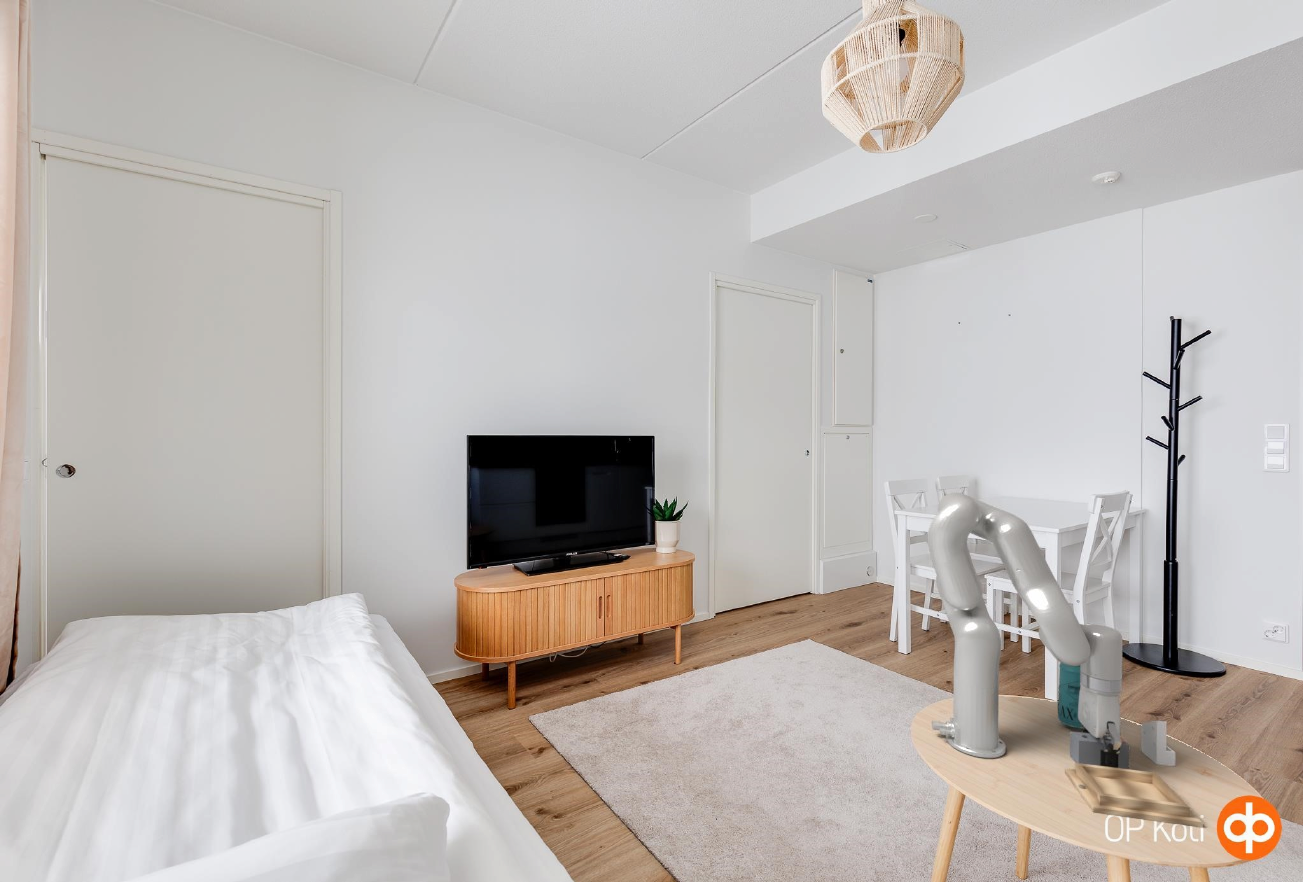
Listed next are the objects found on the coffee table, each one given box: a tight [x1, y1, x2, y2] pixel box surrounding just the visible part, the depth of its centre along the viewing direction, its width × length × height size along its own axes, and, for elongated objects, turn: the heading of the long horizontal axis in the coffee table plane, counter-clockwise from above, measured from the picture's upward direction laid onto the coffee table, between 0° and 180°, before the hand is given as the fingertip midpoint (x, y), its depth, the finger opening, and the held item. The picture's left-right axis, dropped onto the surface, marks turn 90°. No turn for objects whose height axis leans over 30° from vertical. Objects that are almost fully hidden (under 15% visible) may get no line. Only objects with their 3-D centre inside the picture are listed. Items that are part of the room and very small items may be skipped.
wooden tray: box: [1064, 762, 1203, 828], centre depth 124 cm, size 18×14×3 cm
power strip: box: [1069, 731, 1131, 770], centre depth 137 cm, size 10×4×6 cm, turn 79°
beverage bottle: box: [1057, 662, 1083, 729], centre depth 152 cm, size 6×7×20 cm
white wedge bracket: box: [1140, 720, 1176, 767], centre depth 138 cm, size 4×10×9 cm, turn 168°
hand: (1099, 757), depth 137 cm, fingers open, 8 cm apart
